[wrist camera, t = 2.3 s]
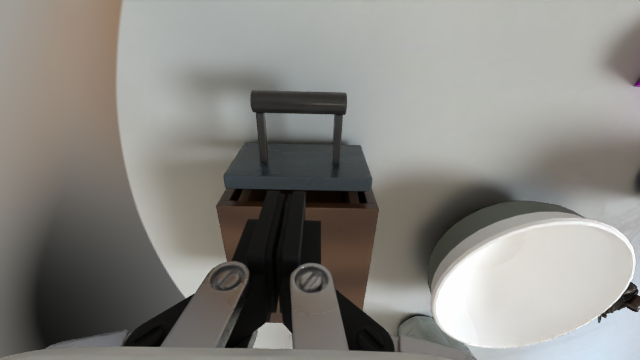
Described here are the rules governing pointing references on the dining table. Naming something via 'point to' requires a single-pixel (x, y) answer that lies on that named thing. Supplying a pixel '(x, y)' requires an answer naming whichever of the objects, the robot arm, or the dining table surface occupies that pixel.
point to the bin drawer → (299, 155)
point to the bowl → (525, 274)
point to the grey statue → (429, 332)
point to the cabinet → (336, 237)
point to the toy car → (625, 301)
